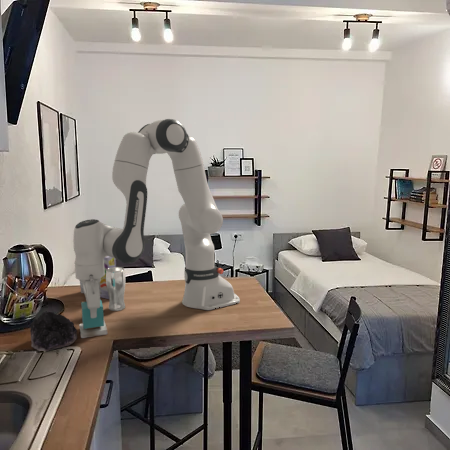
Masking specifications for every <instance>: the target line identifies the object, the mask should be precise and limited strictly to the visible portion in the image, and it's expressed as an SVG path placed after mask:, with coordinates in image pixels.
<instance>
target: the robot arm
mask: <svg viewBox="0 0 450 450" xmlns="http://www.w3.org/2000/svg"><path fill="white" fill-rule="evenodd" d="M156 154H157V155H160V154H161V155H164V154H168V157H169V159H170V160H171V163H172V169H173V173H174V177H175V182H176V186H177V190H178V193H179V194H180V196H181V198H182V201H183V204H182V205H181V206H180V208H179V210H178V219H179V220H180V225H181V230H182V237H183V242H184V248H185V249H184V250H185V267H184V274H183V275H184V282H185V283H184V284H185V286H184V291H183V297H182V301H181V303H182V305H184V307H188V308H192V309H199V310H204V311H212V310H215V308H216V309H219V307H220V308H223V307H227V306H232V305H236V303H237V304H240V302H241V301H240V300H241V299H240V297H239V296H238V295H237V294H236V293H235V291H234V287H233V285H232V284H231V283H230V282H229V281H228V280H227V279H225V278H223V276H222V275H223V274H224V271H225V270H224V269H223V268H221V267H217V266H216V265H215V244H214V243H213V241H212V237H211V235H213V234H216V233H218V232H219V231H220V229H221V228H222V226H223V224H224V218H223V214H222V213H221V211H220V210H219V208H218V206H217V204H216V201H215V199H214V197H213V194H212V191H211V189H210V187H209V186H210V185H209V183H208V179H207V175H206V170H205V167H204V162H203V157H202V154H201V151H200V148H199V145H198V142H197V141H196V139H195V138H194V137H193V136H189V134H188V133H187V130H186V128H185V126H184V125H183V124H182V123H181V122H180V121H179V120H176V119H172V118H165V119H160V120H156V121H153V122H151V123H148V124H146V125H143V126H142V127H141V128H140V129H139V131H132V132H131V131H130V132H127V133H125V134H124V135H123V137H122V139H121V141H120V143H119V145H118V149H117V152H116V154H115V158H114V162H113V167H112V171H111V172H112V175H111V179H112V182H113V184H114V186H115V187H116V188H117V190H119V191H120V192H121V193H122V194H123V197H124V198H125V202H126V207H125V208H126V209H125V214H124V215H125V216H124V221H123V227H122V228H118V227H115V226H111V225H107V224H105V223H103V222H101V221H100V220H98V219H93V218H92V219H87V220H82V221H80V222H78V223H77V224H76V225H75V226H74V230H73V241H72V242H73V251H74V254H75V255H74V256H75V260H74V271H75V273H74V275H75V276H74V277H75V279H77V280H79V284H80V283H82V284H83V289H84V293H85V294H84V293H83V294H84V296H85V302H87V306H88V309H90V316H91V318H96V317H97V308H100V300H101V297H100V292H99V284H98V282H100V281H101V278H102V277H104V275H105V271H104V258H105V257H107V256H110V257H112V258H115V259H116V260H117V261H119V262H121V263H123V264H126V265H127V264H129V265H130V264H133V263H135V262H137V261H138V260H139V259H140V258H141V257H142V256H143V255H144V254H143V253H144V251H145V247H146V246H145V245H146V244H145V243H146V242H145V236H144V235H145V234H144V232H145V231H144V229H145V220H146V214H147V212H146V211H147V204H148V203H147V202H148V188H147V176H148V175H147V174H148V171H149V167H150V166H149V165H150V161H151V158H152V156H153V155H156Z"/></svg>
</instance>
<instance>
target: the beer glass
mask: <svg viewBox="0 0 450 450" xmlns="http://www.w3.org/2000/svg"><path fill="white" fill-rule="evenodd" d="M106 286H107V291H108V295H109V299H108V310H109V311H112V312H119V311H123V310H125V309H126V303H125V298H124V297H125V290H126V272H125V268H124V267H120V266H116V267H113V268H108V269H107V270H106Z"/></svg>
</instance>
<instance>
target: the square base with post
mask: <svg viewBox="0 0 450 450" xmlns="http://www.w3.org/2000/svg"><path fill="white" fill-rule="evenodd" d="M79 334H80V339H86V338H91V337H97V336H106V335H108V328H107V325H106V321H105V320H104V326H100V327H93V328H86V329H84V328H83V323H80V324H79Z"/></svg>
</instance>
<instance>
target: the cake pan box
mask: <svg viewBox="0 0 450 450" xmlns="http://www.w3.org/2000/svg"><path fill="white" fill-rule="evenodd" d="M116 260H117V259H115V258H112V257H110V256H107V257H105V258H104V271H105V275H104V277H102V278H101V281H100V282H98V284H99V292H100V298H101V299H102V298H103V299H107V300H109V295H108V291H107V286H106V270H107V269H108V268H113V267H117V261H116ZM79 285H80V288H79V289H80V293H81V294H84V295H85V293H84V289H83V284H82V283H80V282H79Z"/></svg>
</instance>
